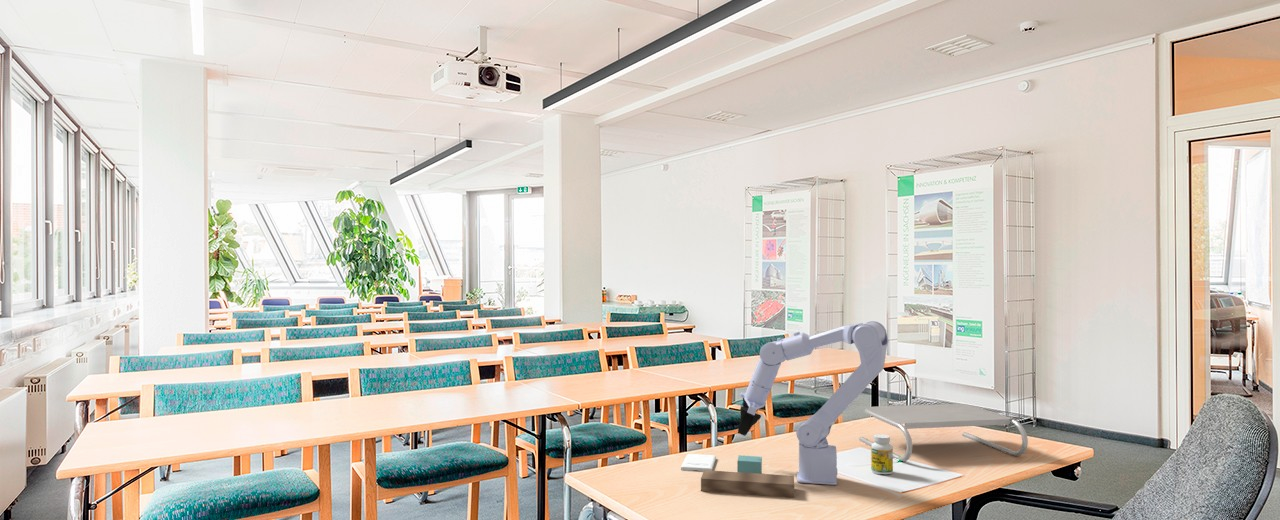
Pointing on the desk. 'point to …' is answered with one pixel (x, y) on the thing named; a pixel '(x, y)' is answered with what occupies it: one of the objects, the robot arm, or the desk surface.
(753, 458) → the teal block
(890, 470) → the supplement bottle
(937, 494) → the desk surface
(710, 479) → the walnut board
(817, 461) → the robot arm
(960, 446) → the desk surface
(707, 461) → the external hard drive
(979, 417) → the monitor stand
